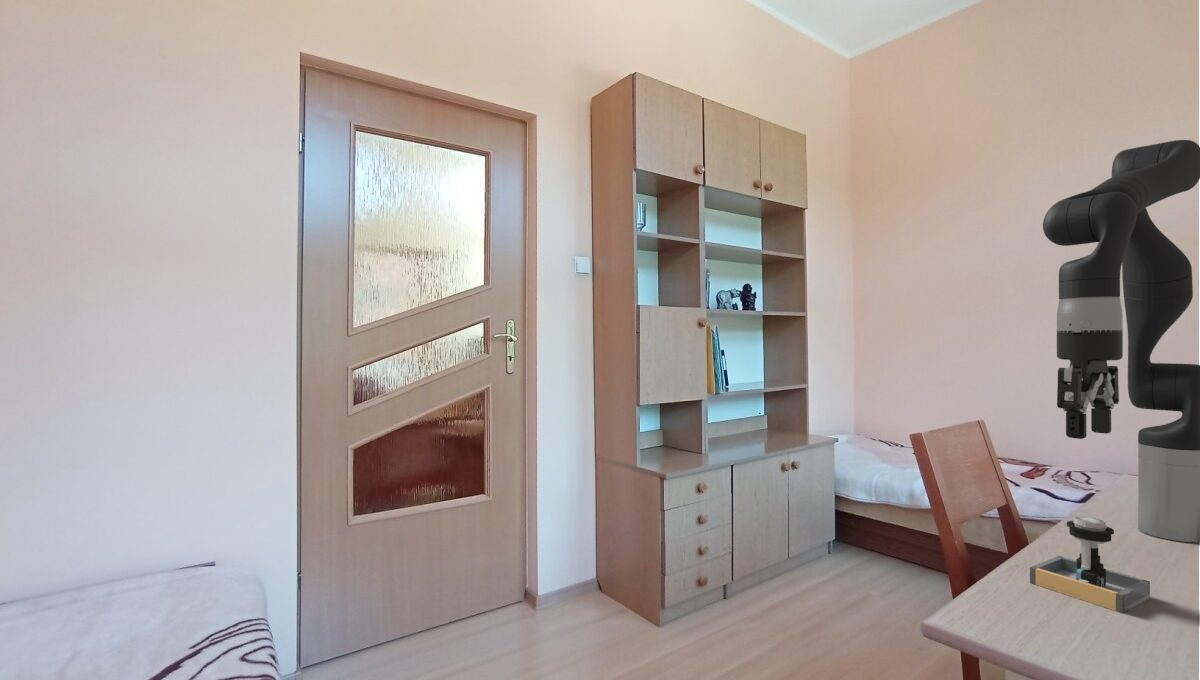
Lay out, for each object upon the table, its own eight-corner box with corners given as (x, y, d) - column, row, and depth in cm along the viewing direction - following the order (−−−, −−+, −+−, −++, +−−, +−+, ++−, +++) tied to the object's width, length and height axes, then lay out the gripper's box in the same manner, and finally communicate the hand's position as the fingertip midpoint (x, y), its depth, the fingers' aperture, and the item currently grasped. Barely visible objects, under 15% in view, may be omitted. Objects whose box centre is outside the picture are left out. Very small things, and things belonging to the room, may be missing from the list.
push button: (1103, 600, 79) (1103, 529, 79) (1057, 586, 84) (1057, 519, 84) (1119, 589, 83) (1119, 521, 83) (1074, 576, 87) (1074, 512, 87)
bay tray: (1058, 570, 91) (1058, 555, 91) (1149, 597, 81) (1149, 581, 81) (1029, 582, 86) (1029, 567, 86) (1122, 613, 76) (1122, 595, 76)
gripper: (1079, 329, 91) (1079, 428, 91) (1036, 328, 84) (1036, 435, 84) (1140, 328, 84) (1140, 435, 84) (1099, 327, 77) (1099, 443, 78)
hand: (1088, 435), depth 84 cm, fingers open, 8 cm apart
